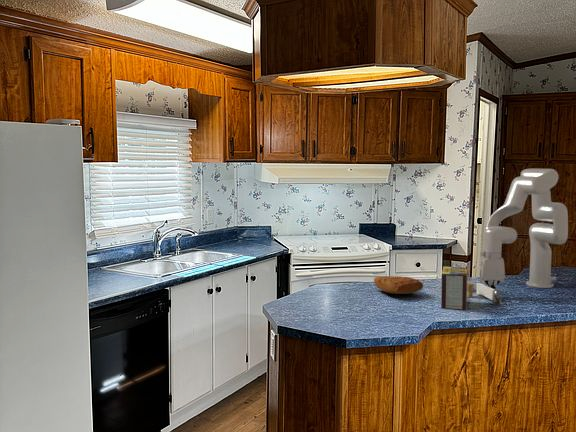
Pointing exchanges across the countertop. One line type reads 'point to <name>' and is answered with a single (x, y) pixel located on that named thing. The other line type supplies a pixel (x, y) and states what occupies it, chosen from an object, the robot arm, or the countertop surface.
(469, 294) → the stile
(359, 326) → the countertop surface
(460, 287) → the protein box
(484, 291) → the white long bar
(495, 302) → the knob on square plate
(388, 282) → the cuneiform tablet
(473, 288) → the tan cube
